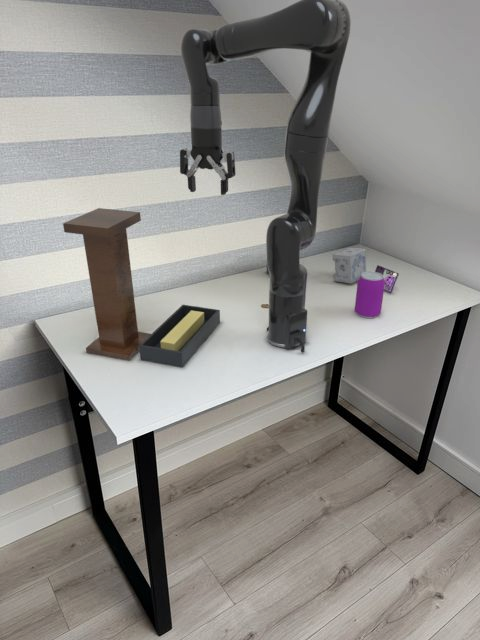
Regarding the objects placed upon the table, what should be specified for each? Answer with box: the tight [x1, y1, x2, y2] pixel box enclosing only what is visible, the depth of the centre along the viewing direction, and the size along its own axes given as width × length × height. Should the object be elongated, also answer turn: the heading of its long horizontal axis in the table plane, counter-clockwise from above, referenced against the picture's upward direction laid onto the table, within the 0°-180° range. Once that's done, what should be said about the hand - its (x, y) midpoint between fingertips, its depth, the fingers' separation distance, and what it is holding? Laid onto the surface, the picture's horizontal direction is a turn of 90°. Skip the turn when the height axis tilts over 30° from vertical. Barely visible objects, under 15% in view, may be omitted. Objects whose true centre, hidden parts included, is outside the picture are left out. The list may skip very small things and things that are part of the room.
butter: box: [160, 310, 204, 351], centre depth 134 cm, size 19×4×3 cm, turn 163°
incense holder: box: [332, 247, 367, 284], centre depth 171 cm, size 10×8×10 cm
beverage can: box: [354, 270, 386, 319], centre depth 148 cm, size 8×8×12 cm
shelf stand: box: [62, 207, 152, 362], centre depth 123 cm, size 14×12×33 cm
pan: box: [139, 304, 221, 368], centre depth 134 cm, size 25×11×4 cm, turn 163°
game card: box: [374, 264, 399, 294], centre depth 167 cm, size 7×5×9 cm
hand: (208, 192), depth 133 cm, fingers open, 8 cm apart
